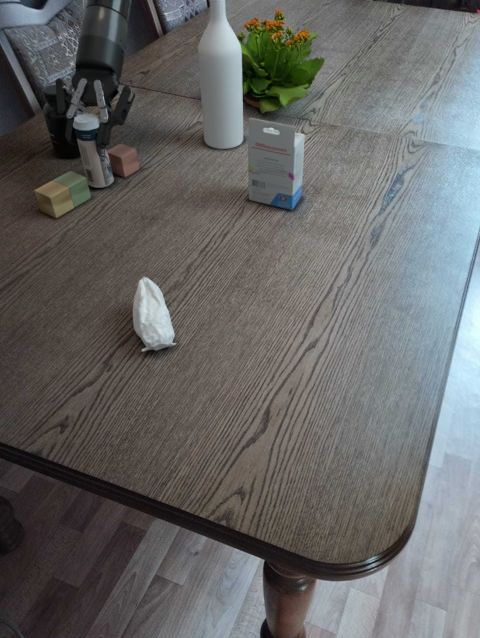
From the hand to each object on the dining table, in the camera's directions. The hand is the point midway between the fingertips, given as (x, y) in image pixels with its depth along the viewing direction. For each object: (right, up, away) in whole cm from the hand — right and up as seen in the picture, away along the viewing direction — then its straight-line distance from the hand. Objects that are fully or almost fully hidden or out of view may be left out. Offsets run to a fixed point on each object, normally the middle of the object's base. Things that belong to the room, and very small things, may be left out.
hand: (86, 145), depth 93 cm
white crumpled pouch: (+16, -32, -19) cm, 41 cm away
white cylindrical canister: (0, -4, +7) cm, 9 cm away
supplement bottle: (-8, +5, +16) cm, 19 cm away
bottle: (+22, +8, +20) cm, 31 cm away
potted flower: (+30, +23, +34) cm, 51 cm away
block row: (-1, -6, +6) cm, 8 cm away
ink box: (+32, -8, +4) cm, 33 cm away
